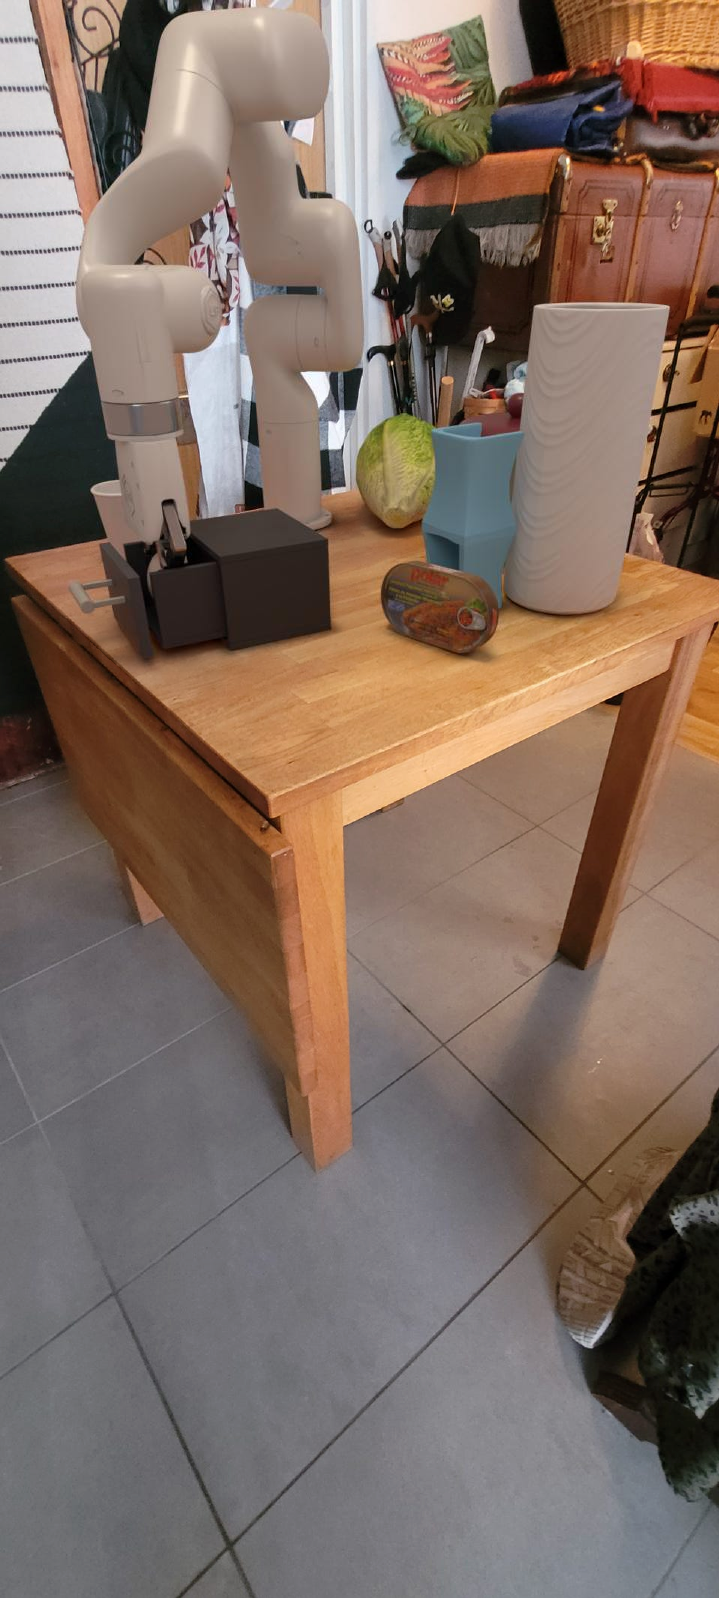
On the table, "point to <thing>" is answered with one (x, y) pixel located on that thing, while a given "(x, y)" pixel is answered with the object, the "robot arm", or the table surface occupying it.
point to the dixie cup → (113, 514)
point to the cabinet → (267, 575)
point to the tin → (439, 606)
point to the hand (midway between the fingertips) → (171, 593)
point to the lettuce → (397, 470)
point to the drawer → (159, 597)
